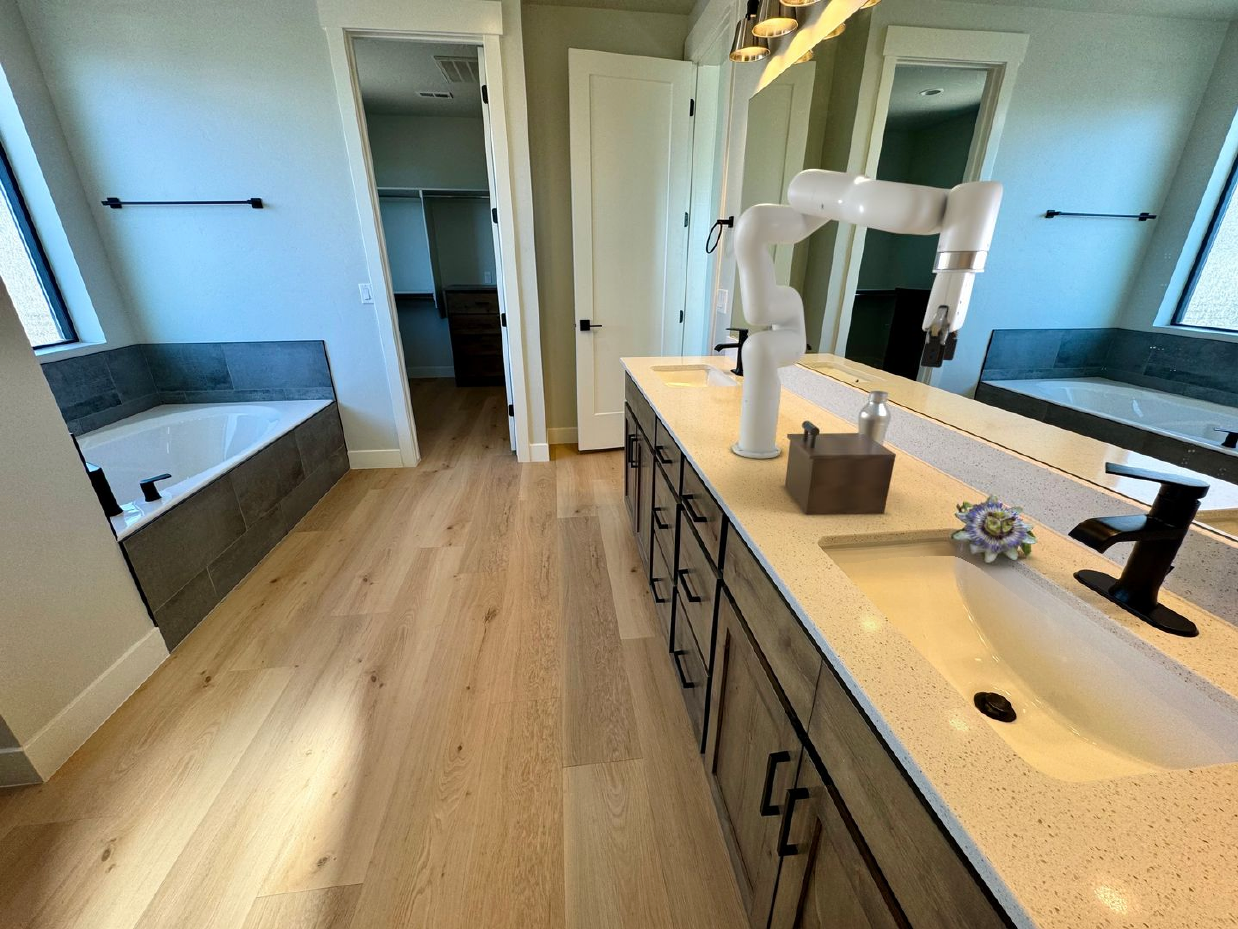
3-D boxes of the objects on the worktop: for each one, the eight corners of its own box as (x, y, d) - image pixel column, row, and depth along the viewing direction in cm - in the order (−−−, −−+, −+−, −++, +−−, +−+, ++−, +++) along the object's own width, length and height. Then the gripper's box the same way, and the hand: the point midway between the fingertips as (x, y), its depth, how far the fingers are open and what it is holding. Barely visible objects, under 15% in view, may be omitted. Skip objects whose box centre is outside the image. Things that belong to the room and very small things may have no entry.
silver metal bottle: (883, 481, 113) (900, 396, 106) (852, 479, 114) (866, 395, 107) (875, 471, 119) (891, 389, 111) (846, 469, 120) (859, 388, 113)
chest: (805, 514, 98) (813, 459, 94) (784, 487, 111) (790, 437, 107) (884, 513, 98) (895, 458, 94) (853, 486, 111) (862, 436, 106)
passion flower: (979, 588, 83) (951, 540, 80) (957, 546, 92) (931, 501, 89) (1059, 566, 78) (1033, 513, 74) (1027, 524, 87) (1002, 474, 83)
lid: (809, 459, 94) (812, 434, 92) (786, 437, 107) (789, 415, 105) (895, 458, 94) (900, 433, 92) (862, 436, 106) (866, 414, 105)
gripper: (945, 264, 93) (925, 355, 100) (922, 264, 81) (901, 367, 88) (993, 263, 89) (969, 359, 95) (976, 263, 77) (950, 372, 83)
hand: (936, 363), depth 91 cm, fingers open, 9 cm apart
